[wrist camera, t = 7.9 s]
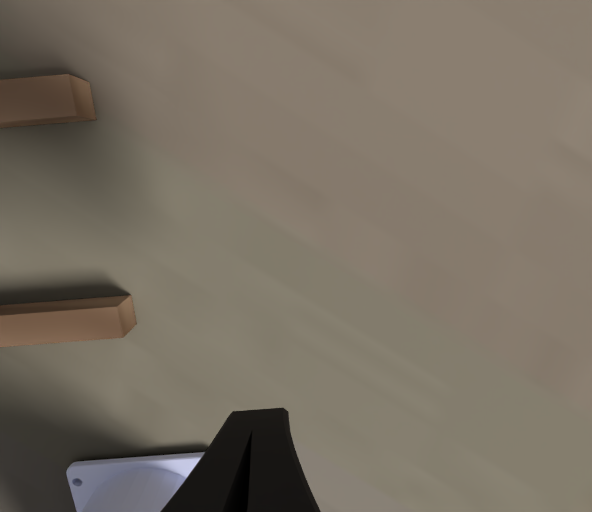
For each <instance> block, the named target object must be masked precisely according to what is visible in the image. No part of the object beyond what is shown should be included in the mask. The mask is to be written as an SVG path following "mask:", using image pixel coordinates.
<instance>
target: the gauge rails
mask: <svg viewBox="0 0 592 512" xmlns="http://www.w3.org/2000/svg"><path fill="white" fill-rule="evenodd" d="M91 120H97V119H96V114H95V109H94V104H93V99H92V94H91V89H90V83H89V82H87V81H85V80H82V79H80V78H77V77H75V76H72V75H70V74H62V75H50V76H38V77H26V78H14V79H2V80H0V128H6V127H18V126H30V125H42V124H54V123H67V122H79V121H91ZM136 324H137V322H136V317H135V312H134V307H133V302H132V297H131V295H125V296H113V297H100V298H87V299H74V300H61V301H49V302H36V303H23V304H10V305H0V347H8V346H21V345H34V344H47V343H60V342H73V341H86V340H99V339H112V338H123V337H124V336H125V335H126V334H127V333H128V332H129V331H130V330H131V329H132V328H133V327H134V326H135V325H136Z"/></svg>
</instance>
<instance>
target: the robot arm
mask: <svg viewBox="0 0 592 512" xmlns="http://www.w3.org/2000/svg"><path fill="white" fill-rule="evenodd" d="M66 475H67V478H68V482H69V486H70V489H71V493H72V496H73V500H74V504H75V507H76V511H77V512H320V509H319V507H318V505H317V503H316V501H315V499H314V497H313V494H312V492H311V490H310V487H309V485H308V483H307V480H306V478H305V475H304V473H303V470H302V467H301V465H300V462H299V459H298V457H297V454H296V451H295V448H294V444H293V440H292V437H291V433H290V425H289V415H288V411H287V410H285V409H284V408H273V409H260V410H247V411H233V412H232V413H231V414H230V415H229V417H228V418H227V420H226V421H225V423H224V424H223V426H222V427H221V429H220V431H219V432H218V434H217V435H216V437H215V438H214V440H213V441H212V443H211V444H210V446H209V447H208V449H207V450H206V452H199V453H185V454H172V455H158V456H145V457H131V458H118V459H104V460H91V461H77V462H73V463H72V464H71V465H70V466H69V468H68V469H67V471H66ZM78 478H79V479H81V480H79V479H78Z"/></svg>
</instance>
